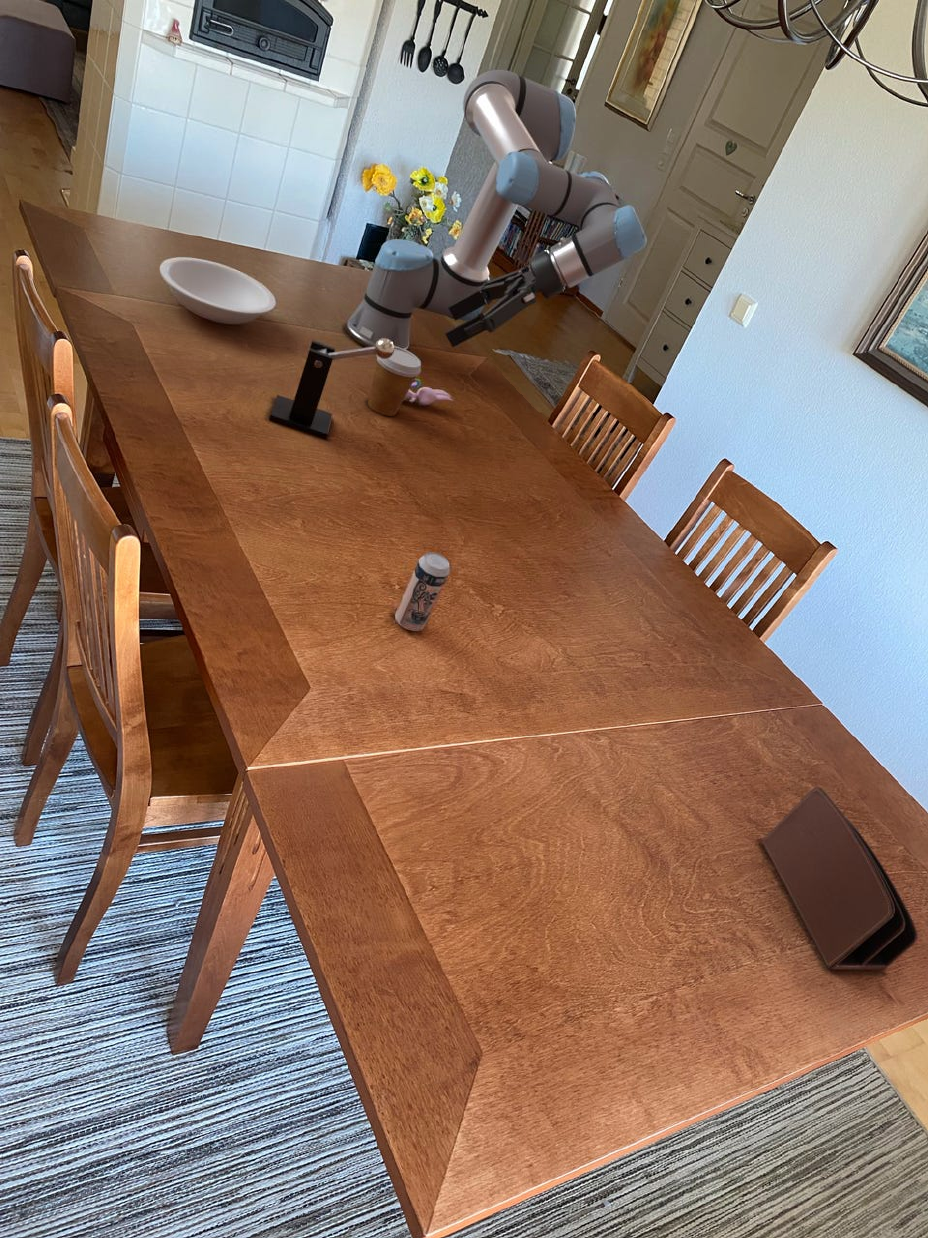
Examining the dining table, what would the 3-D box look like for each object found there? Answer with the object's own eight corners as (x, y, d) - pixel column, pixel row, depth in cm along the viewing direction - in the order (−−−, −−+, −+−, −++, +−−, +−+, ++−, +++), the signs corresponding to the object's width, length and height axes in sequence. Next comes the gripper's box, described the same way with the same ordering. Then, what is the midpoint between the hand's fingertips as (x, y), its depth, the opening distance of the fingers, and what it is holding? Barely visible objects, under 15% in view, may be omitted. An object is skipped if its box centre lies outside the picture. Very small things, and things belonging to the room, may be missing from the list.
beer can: (401, 633, 137) (429, 571, 131) (389, 612, 140) (416, 550, 133) (428, 632, 140) (457, 571, 133) (416, 612, 143) (444, 551, 136)
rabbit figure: (388, 409, 197) (454, 413, 203) (393, 384, 194) (460, 388, 199) (382, 395, 202) (446, 398, 207) (386, 370, 198) (452, 374, 203)
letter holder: (827, 971, 117) (897, 908, 110) (759, 841, 132) (816, 777, 124) (884, 971, 121) (956, 910, 113) (812, 845, 136) (871, 784, 128)
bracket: (330, 418, 181) (353, 350, 173) (326, 439, 174) (349, 369, 166) (275, 399, 178) (296, 329, 170) (268, 420, 171) (289, 347, 163)
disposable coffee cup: (406, 407, 198) (426, 357, 191) (399, 425, 190) (419, 373, 184) (365, 390, 197) (383, 339, 190) (356, 407, 189) (374, 354, 182)
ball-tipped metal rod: (396, 352, 170) (392, 333, 168) (395, 360, 167) (391, 341, 165) (315, 364, 171) (311, 346, 169) (313, 372, 169) (308, 353, 166)
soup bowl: (284, 323, 208) (292, 296, 204) (240, 353, 188) (247, 323, 184) (187, 276, 207) (193, 248, 203) (132, 301, 187) (137, 270, 183)
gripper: (544, 229, 168) (443, 286, 174) (551, 270, 148) (436, 332, 154) (562, 267, 172) (462, 320, 178) (571, 312, 152) (458, 370, 158)
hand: (450, 326), depth 166 cm, fingers open, 13 cm apart
